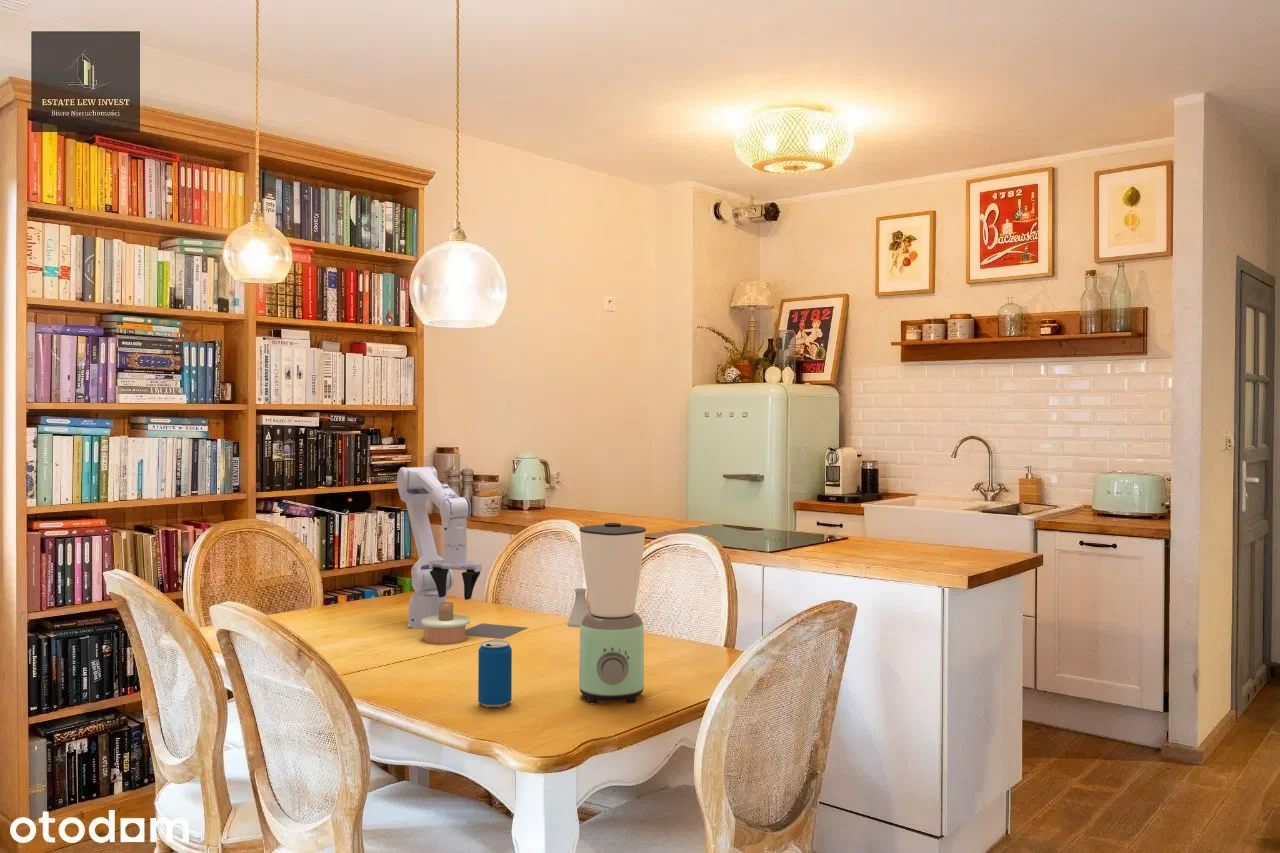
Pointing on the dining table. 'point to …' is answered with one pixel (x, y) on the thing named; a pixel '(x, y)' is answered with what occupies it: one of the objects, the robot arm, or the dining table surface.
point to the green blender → (612, 613)
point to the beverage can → (495, 673)
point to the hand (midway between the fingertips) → (455, 598)
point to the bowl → (445, 635)
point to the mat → (493, 631)
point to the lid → (445, 618)
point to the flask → (578, 608)
